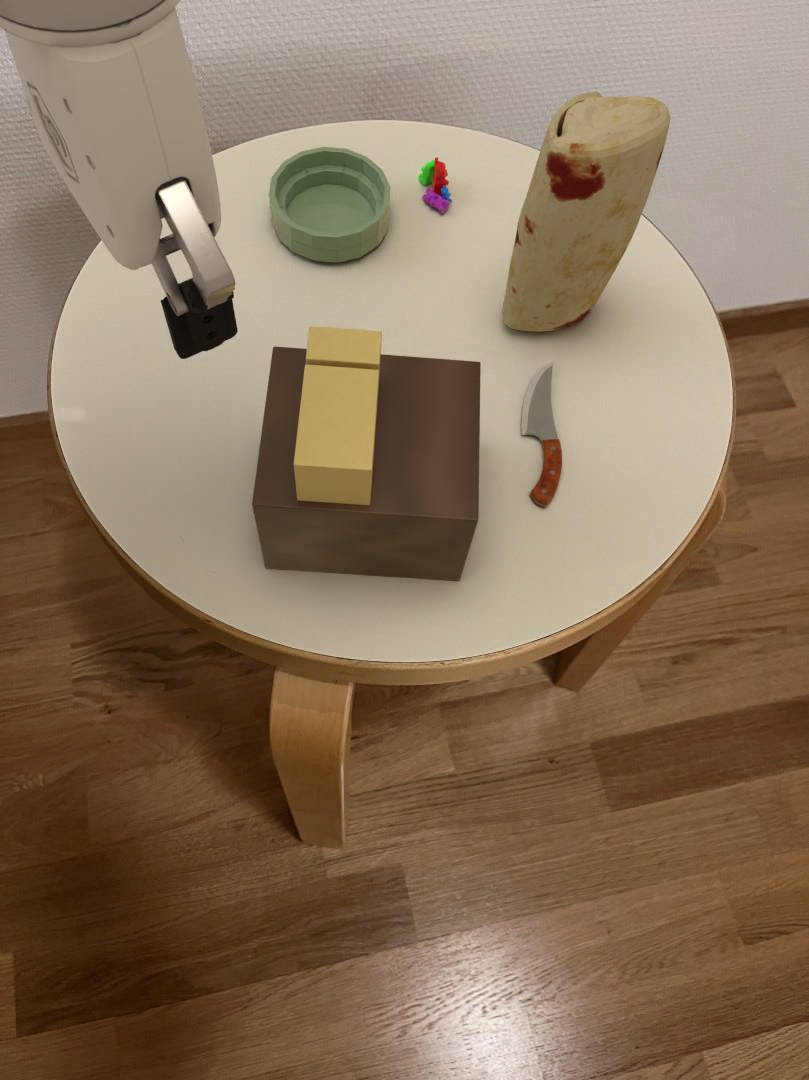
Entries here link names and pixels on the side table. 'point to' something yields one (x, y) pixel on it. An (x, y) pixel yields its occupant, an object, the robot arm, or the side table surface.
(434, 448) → the chopping block
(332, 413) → the butter
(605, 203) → the food model
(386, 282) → the side table surface
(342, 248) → the dish
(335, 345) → the butter slice
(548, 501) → the knife
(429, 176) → the multicolored plastic block cluster
